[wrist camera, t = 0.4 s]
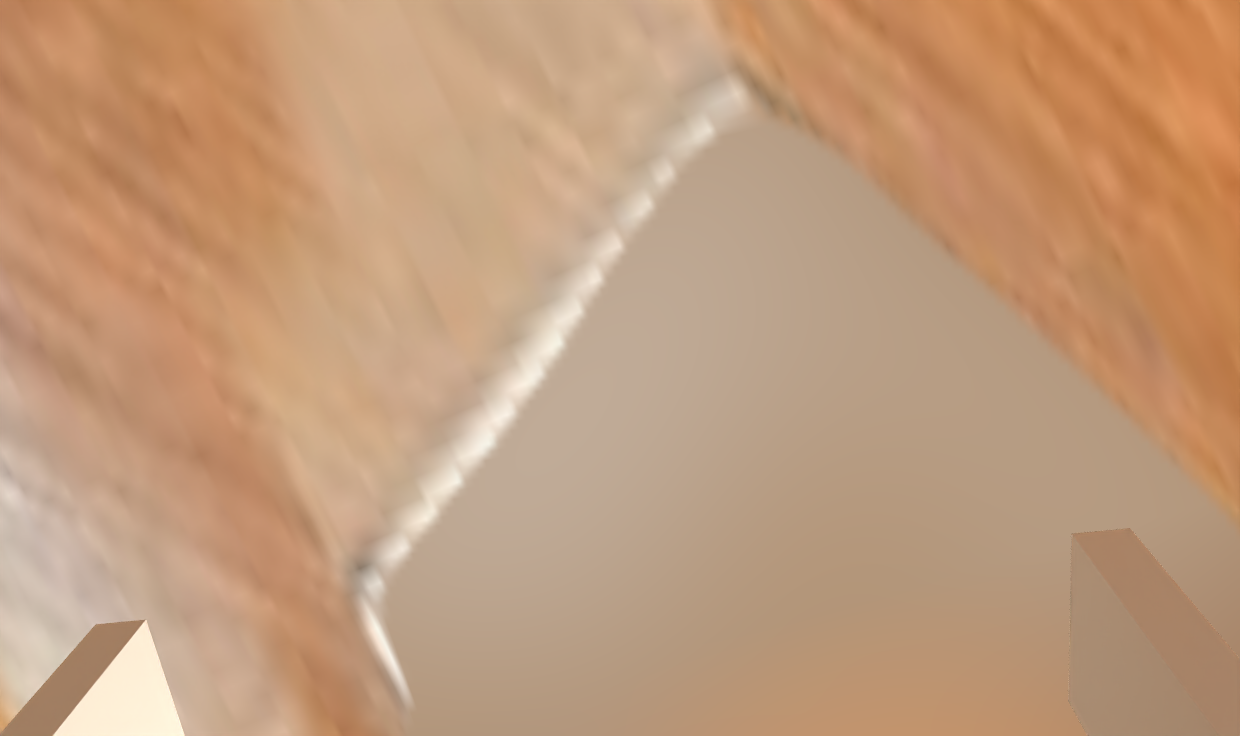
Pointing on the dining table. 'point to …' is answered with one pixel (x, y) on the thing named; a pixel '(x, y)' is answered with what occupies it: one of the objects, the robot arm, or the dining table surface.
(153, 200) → the dining table surface
